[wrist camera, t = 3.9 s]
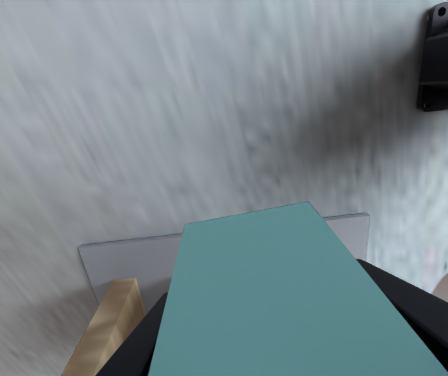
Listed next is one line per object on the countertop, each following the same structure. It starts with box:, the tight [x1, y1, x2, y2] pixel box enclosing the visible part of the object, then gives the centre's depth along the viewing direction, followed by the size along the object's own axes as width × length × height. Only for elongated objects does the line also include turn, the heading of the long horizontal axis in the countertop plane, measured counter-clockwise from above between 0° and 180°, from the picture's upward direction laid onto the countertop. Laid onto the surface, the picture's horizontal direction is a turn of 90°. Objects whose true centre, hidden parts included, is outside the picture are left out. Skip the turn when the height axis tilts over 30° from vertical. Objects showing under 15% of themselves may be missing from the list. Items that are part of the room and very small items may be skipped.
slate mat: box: [78, 213, 370, 314], centre depth 24 cm, size 24×12×1 cm, turn 97°
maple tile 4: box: [61, 278, 146, 376], centre depth 20 cm, size 2×5×9 cm, turn 7°
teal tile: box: [148, 201, 448, 376], centre depth 7 cm, size 2×5×9 cm, turn 101°
